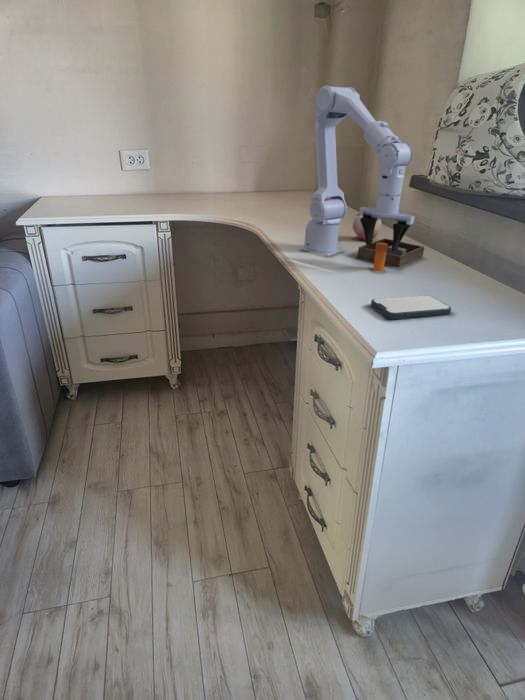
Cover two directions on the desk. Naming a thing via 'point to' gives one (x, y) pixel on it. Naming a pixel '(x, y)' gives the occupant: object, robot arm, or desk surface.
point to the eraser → (398, 252)
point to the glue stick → (380, 256)
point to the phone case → (410, 307)
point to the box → (390, 259)
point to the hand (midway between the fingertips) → (381, 247)
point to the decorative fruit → (360, 231)
